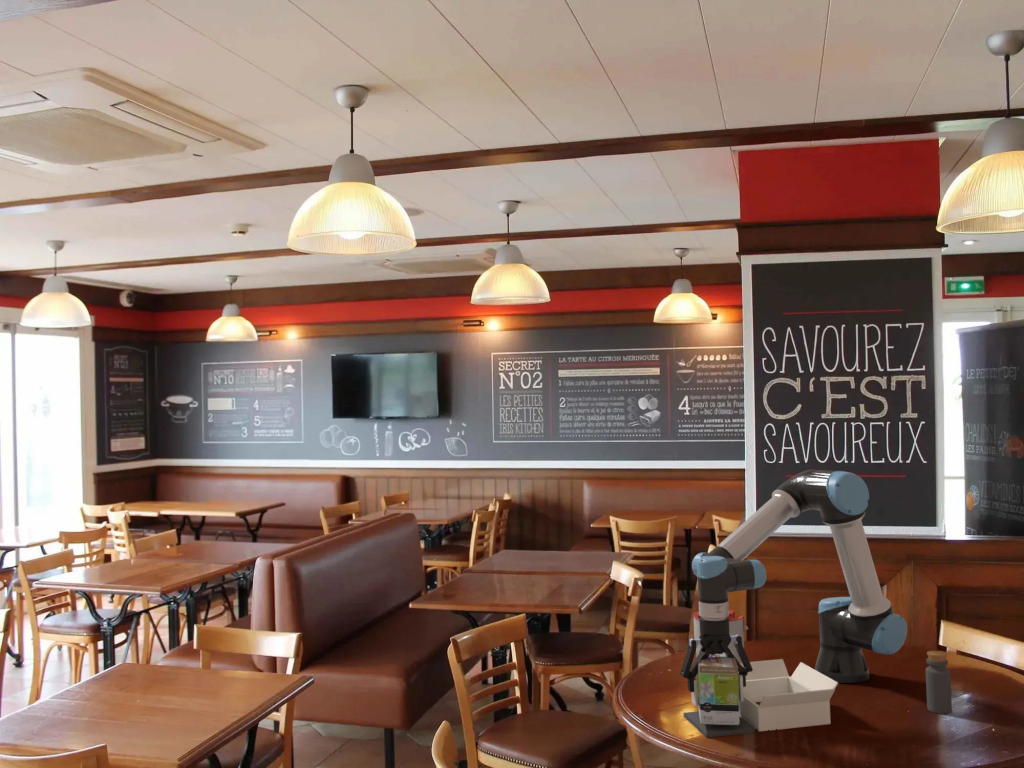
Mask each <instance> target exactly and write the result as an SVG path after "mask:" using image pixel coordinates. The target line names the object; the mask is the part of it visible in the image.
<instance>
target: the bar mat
mask: <svg viewBox="0 0 1024 768" xmlns="http://www.w3.org/2000/svg"><path fill="white" fill-rule="evenodd" d="M683 717H684V718H685V719H686V720H687V721H688V722H689V723H690V724H691V725H692V726H693V727H694V728H695V729H697V730H698V731H699V733H701V734H702V735H703V736H704V737H705V738H714V737H722V736H723V737H724V736H732V735H733V736H734V735H741V734H743V735H744V734H752V733H756V729H755V728H754V727H753V726H752V725H750V724H749V723H748V722H746V721H745V720H744V719H743V718H741V717H740V716H739V725H716V724H701V723H700V716H699V710H698V711H688V712H687V711H686V712H683Z"/></svg>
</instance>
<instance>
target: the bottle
mask: <svg viewBox="0 0 1024 768" xmlns="http://www.w3.org/2000/svg"><path fill="white" fill-rule="evenodd" d="M926 654H927V658H926V664H928V666H927V667H926V668H925V685H926V686H925V687H926V689H925V690H926V704H927V705H926V706H927V707H926V708H927V710H928V711H929V712H931V713H934V714H939V715H949V714H951V713H953V704H952V703H953V702H952V701H953V699H952V685H951V684H952V683H951V682H952V681H951V670H950V669H949V668H947V666H948V665H949V661H948V659H947V656H948V654H947V652H944V651H941V650H928V651H927V652H926Z"/></svg>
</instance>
